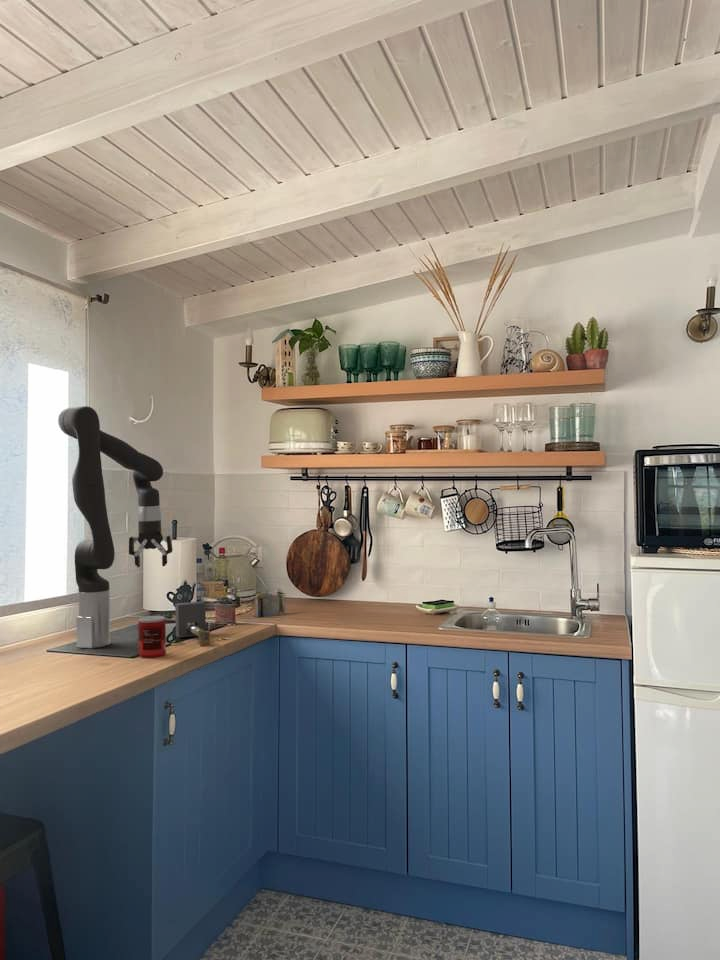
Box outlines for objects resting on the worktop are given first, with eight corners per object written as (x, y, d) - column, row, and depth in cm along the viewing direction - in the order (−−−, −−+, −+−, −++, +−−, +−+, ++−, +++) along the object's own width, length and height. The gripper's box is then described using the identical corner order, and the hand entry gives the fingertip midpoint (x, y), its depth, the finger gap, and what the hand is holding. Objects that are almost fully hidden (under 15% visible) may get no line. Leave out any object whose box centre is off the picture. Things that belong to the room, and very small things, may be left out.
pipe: (159, 636, 246) (159, 623, 246) (212, 630, 254) (212, 618, 254) (176, 649, 226) (176, 635, 226) (233, 642, 234) (233, 629, 234)
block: (175, 635, 245) (175, 603, 245) (202, 632, 249) (202, 601, 249) (178, 637, 241) (178, 605, 242) (205, 634, 246) (205, 602, 246)
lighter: (237, 624, 267) (237, 596, 267) (233, 625, 264) (233, 597, 264) (217, 623, 269) (217, 595, 269) (213, 625, 266) (212, 597, 266)
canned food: (155, 651, 223) (154, 614, 223) (171, 654, 218) (170, 617, 218) (133, 656, 217) (132, 618, 217) (149, 659, 212) (148, 621, 212)
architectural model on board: (258, 618, 280) (257, 593, 280) (255, 617, 283) (254, 592, 283) (285, 615, 286) (285, 590, 286) (282, 614, 288) (281, 589, 289)
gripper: (125, 520, 248) (127, 569, 249) (168, 519, 249) (170, 567, 250) (130, 519, 256) (132, 565, 256) (172, 517, 257) (174, 564, 257)
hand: (151, 566), depth 253 cm, fingers open, 8 cm apart
